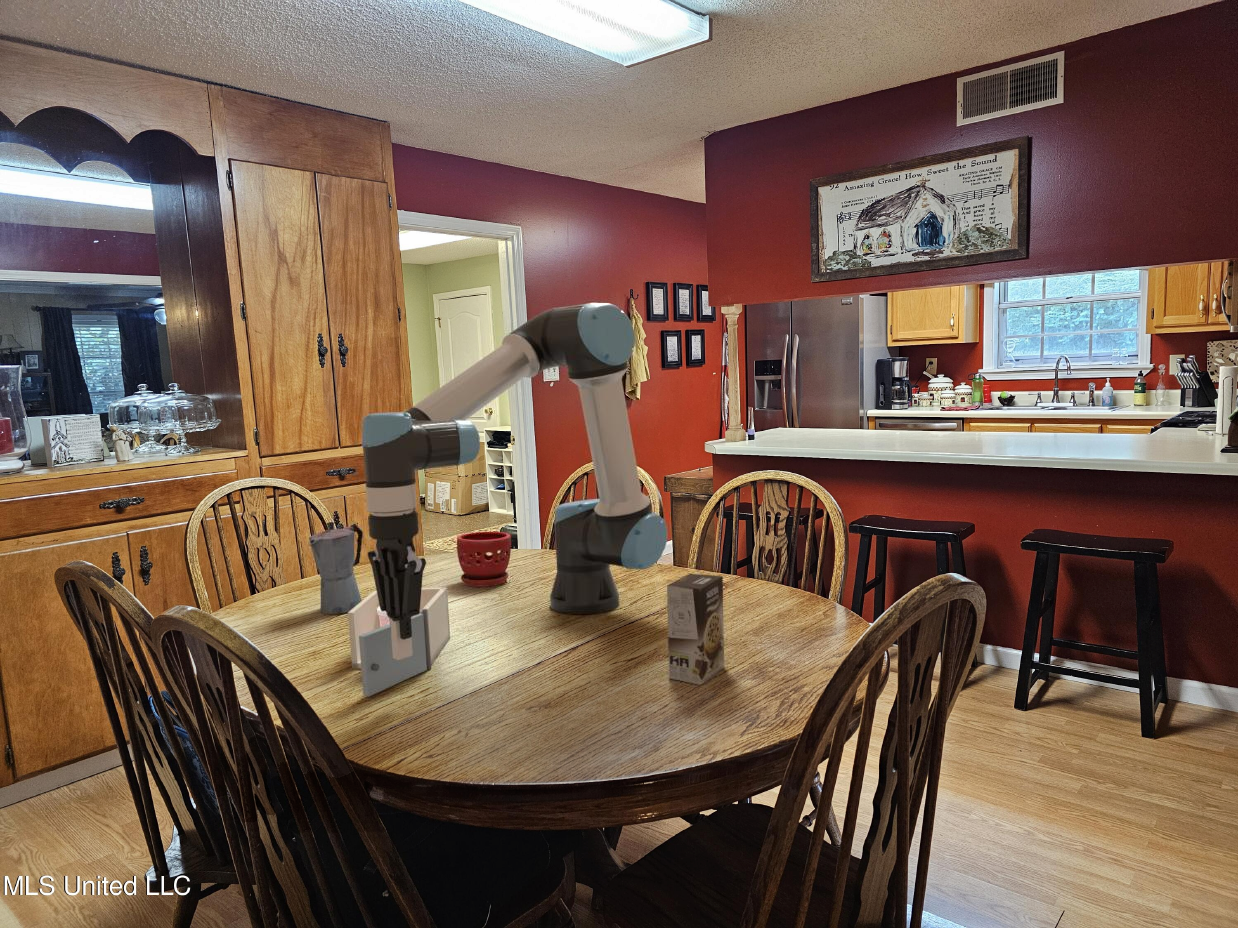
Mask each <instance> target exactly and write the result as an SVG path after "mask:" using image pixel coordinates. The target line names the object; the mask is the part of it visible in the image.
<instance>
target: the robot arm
mask: <svg viewBox="0 0 1238 928" xmlns="http://www.w3.org/2000/svg"><path fill="white" fill-rule="evenodd" d="M633 326H634V325H633V324H632V322H631V320H630V318H629V316H628V314H626V313H625V311H623V310H621V309H620V307H619V306H617V305H615V304H612V303H607V302H605V303H604V302H600V303H599V302H590V303H583V304H577V305H569V306H559V307H552V308H549V309H548V310H547V309H546V310H545V311H543V312H541V313H539V314H537V315H535V316H534V317H532V318H531V319H528V320H527V321H526V322H524V323H522V324H521V325H520V326H519V327H517V328H515V329H513V331H511V332H509V333H508V334H507V335H505V336H504V337H503V339H502V341H501V345H500V346H499V347H498V348H495V349H494V350H493V351H491V352H490V353H489V354H487V355H486V356H484V357H483V358H482V359H480V360H479V361H477V362H476V363H474V364H473V365H471V366H469V368H467V369H465V370H464V371H462V372H461V373H460V374H458V375H457V376H455V377H454V378H453V379H451V380H449V381H448V382H447V383H445V384H444V385H442V386H441V387H440V388H438V389H436V390H435V391H434V392H433V393H430V395H428V396H426V397H425V398H424V399H422V400H420V401H418V403H417V404H414V406H412V407H411V408H409V409H407V410H406V411H401V412H400V411H397V412H395V411H394V412H393V411H392V412H391V411H390V412H375V413H369V414H366V415H365V416H363V419H362V421H361V423H362V424H361V425H362V426H361V427H362V428H361V446H362V454H363V464H364V465H363V466H364V479H365V494H366V495H365V496H366V510H367V511H368V512H369V513H370V514H369V516H367V521H368V523H367V525H368V535H369V538H371V539H373V540H375V541H376V542H375V549H374V550H370V551H368V552H367V558H368V560H369V563H370V566H371V568H372V575H373V580H374V584H375V585H374V586H375V590H377V595H378V600H379V605H380V609H381V611H386V612H387V616H388V617H390V628H391V629H390V630H391V638H392V652H393V658H394V659H396V660H400V659H403V658H406V657H409V656H412V655H413V652H412V629H411V617H412V616H415V615H418V614H419V613H420V601H421V589H422V588H423V577H424V576H423V574H424V570H425V568H426V566H427V565H426V564H427V561H426V558H425V557H421V558H419V557H418V556H417V555H416V548H415V547H416V546H415V544H414V537H415V536H417V535H418V534H419V531H420V528H419V516H418V515H419V513H418V512H417V511H416V510H414V509H416V507H418V504H417V493H416V492H417V488H416V483H417V482H416V471H423V470H427V469H437V468H444V467H445V468H446V467H452V466H453V467H454V466H456V467H460V465H465V464H470V463H472V462H474V461H475V460H476V459H477V457H478V455H479V453H480V451H481V450H480V449H481V443H480V442H481V441H480V438H481V436H480V434H479V431H478V429H477V427H476V426H475V424H474V423H473V422H472V421H470V420H468V419H469V418H470V417H472V416H473V415H475V414H476V413H477V412H479V411H480V410H482V409H483V408H484V407H486V406H487V405H488V404H490V403H491V402H492V401H494V400H495V399H497V398H498V397H499V396H500V395H502V394H504V393H505V392H506V391H508V389H510V388H511V387H513V386H514V385H515V384H517V383H518V382H520V381H521V380H523V378H527V379H529V378H530V379H531V378H534V377H535V376H537V374H539V373H541V372H543V371H545V370H548V369H551V368H557V367H566V370H567V375H568V380H569V381H570V382H572V383H573V384H574V385H576V386H577V387H578V391H579V396H580V401H581V408H582V412H583V417H584V422H585V429H586V434H587V438H588V439H587V440H588V445H589V449H590V454H591V460H592V464H593V471H594V476H595V480H596V486H597V492H598V497H599V498H592V499H583V500H576V501H571V502H565V503H562V504H559V505H558V506H556V508H555V509H554V522H553V524H554V525H553V526H554V543H555V560H556V573H555V577H554V578H555V579H554V581H553V585H552V587H551V592H550V596H549V599H550V608H551V609H552V610H553V611H555V612H559V613H563V614H568V615H588V614H589V615H592V614H598V613H604V612H608V611H611V610H613V609H615V608H616V607H618V606H619V604H620V597H619V595H620V594H619V589H618V588H617V585H616V583H615V582H616V581H615V580H614V576H613V574H612V572H611V571H612V570H611V567H610V565H612V566H616V567H621V568H625V569H627V570H634V569H635V570H639V571H640V570H643V571H644V570H647V569H650V568H652V567H653V566H654V565H655V564H657V562H658V561H659V560H660V559H661V557H662V555H663V552H664V550H665V549H666V545H667V542H668V536H669V535H668V525H667V523H666V520H665V519H664V518H662V517H661V515H659V514H657V513H655V512H653V509H652V503H651V499H650V497H649V496H647V495H646V494H644V493H643V492H642V487H641V483H640V478H639V472H638V471H639V470H638V466H637V461H636V460H637V459H636V454H635V449H634V443H633V438H632V431H631V426H630V420H629V415H628V408H627V402H626V398H625V392H624V391H625V390H624V386H623V381H622V379H623V376H624V375H625V373H626V372H627V371H628V363H627V362H628V361H629V359H630V358H631V357H632V355H633V353H634V350H633V348H635V344H636V334H635V330H634V327H633Z"/></svg>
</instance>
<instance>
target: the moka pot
mask: <svg viewBox="0 0 1238 928" xmlns="http://www.w3.org/2000/svg"><path fill="white" fill-rule="evenodd" d="M326 526H327V529H326V530H323V531H320V532H317V533H314V534H313V535H311V536H310V537H309V538H308V539H309V541H308V543H307V544H308V546H310V547H311V550H312V555H313V558H314V562H315V566H316V568H317V570H318V571H319V577H320V612H321V613H322V614H325V615H339V614H340V615H341V614H347V613H348V612H349V611H350V610H352V609H353V608H354V607H355V606H356V605H358V604H359V603H360V602H361V601H362V600H363V599H362V597H361V593H360V590H359V589H360V588H359V586H358V583H357V580H356V576H355V573H354V570H355V569H354V566H357V565H358V564H360V561H361V552H362V543H363V542H362V541H363V536H364V531H363V530H362V529H361V528H360V527H359V526H358V525H357V524H356V523H354V524H352V525H351V524H350V526H346V527H343V528H335V522H333V521H329V522H327V523H326ZM355 533H357V539H356V545H357V546H356V555H355ZM355 556H356V557H355Z"/></svg>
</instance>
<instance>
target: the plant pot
mask: <svg viewBox="0 0 1238 928" xmlns="http://www.w3.org/2000/svg"><path fill="white" fill-rule="evenodd" d="M456 550H457V551H456V553H457V559H458V563H459V566H460V569H461V571H462V573H463V574H462V575H460V580H461V582H463V583H464V584H465V585H466V586H469V587H470V586H471V587H475V588H480V587H481V588H482V587H483V588H484V587H485V588H486V587H492V586H498V585H500V584H503V583H504V582H506V580H507V579H508V578H509V572H507V569H508V566H509V564H510V560H511V551H512V536H511V534H509V532H508V533H507V532H505V531H504V532H503V531H478V532H467V533H462V534H460V535H457V537H456ZM499 551H500V552H499ZM487 553H491V554H490V555H489V554H487Z"/></svg>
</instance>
